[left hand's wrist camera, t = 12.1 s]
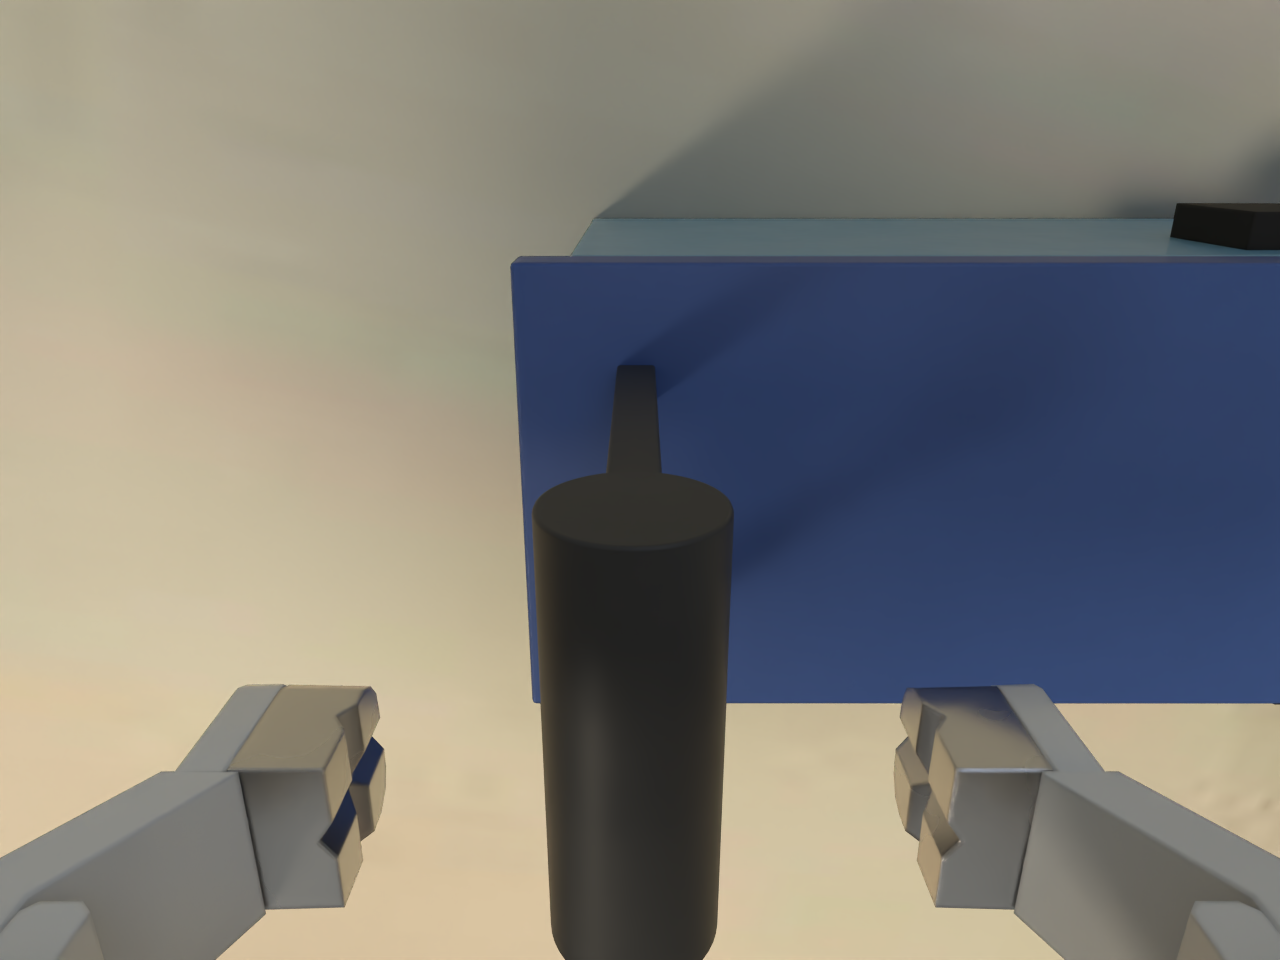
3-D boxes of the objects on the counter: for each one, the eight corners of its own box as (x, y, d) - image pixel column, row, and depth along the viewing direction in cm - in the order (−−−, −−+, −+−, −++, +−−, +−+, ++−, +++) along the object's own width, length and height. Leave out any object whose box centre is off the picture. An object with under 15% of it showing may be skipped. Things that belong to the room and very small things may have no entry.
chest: (598, 516, 28) (580, 675, 20) (592, 218, 25) (568, 255, 17) (1126, 516, 28) (1334, 675, 20) (1189, 218, 25) (1471, 255, 17)
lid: (537, 676, 20) (457, 1089, 11) (517, 255, 17) (381, 377, 8) (1336, 676, 20) (1877, 1089, 11) (1474, 255, 17) (2393, 377, 8)
